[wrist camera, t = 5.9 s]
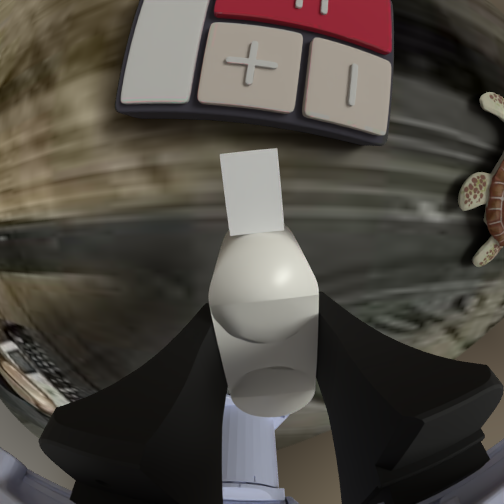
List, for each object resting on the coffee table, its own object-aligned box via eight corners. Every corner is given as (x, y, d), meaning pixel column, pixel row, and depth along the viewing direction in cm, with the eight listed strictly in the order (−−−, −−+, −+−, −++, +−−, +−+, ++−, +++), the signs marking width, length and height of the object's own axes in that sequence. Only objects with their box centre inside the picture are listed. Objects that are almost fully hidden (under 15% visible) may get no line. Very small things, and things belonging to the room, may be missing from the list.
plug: (300, 355, 13) (313, 412, 9) (239, 361, 13) (237, 419, 9) (290, 147, 9) (312, 145, 6) (206, 156, 9) (184, 159, 6)
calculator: (394, 148, 12) (106, 112, 11) (361, 146, 16) (134, 119, 15) (398, -5, 9) (151, -44, 7) (370, 16, 13) (164, -14, 11)
